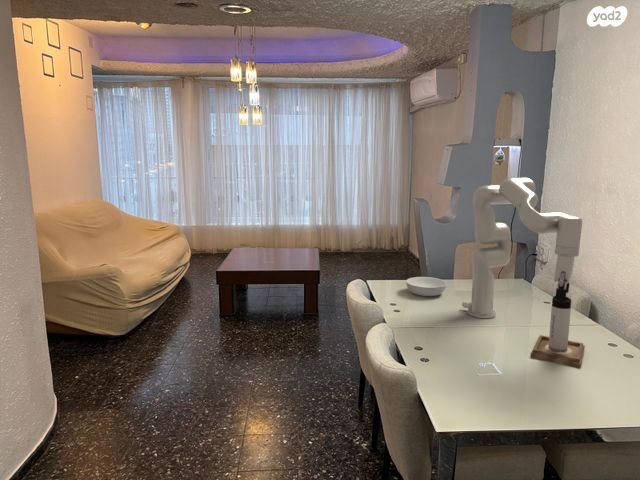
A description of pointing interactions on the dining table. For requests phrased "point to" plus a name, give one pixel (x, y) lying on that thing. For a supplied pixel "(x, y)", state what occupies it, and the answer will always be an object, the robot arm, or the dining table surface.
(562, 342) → the travel mug
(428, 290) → the serving bowl
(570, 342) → the wooden tray
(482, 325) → the dining table surface
